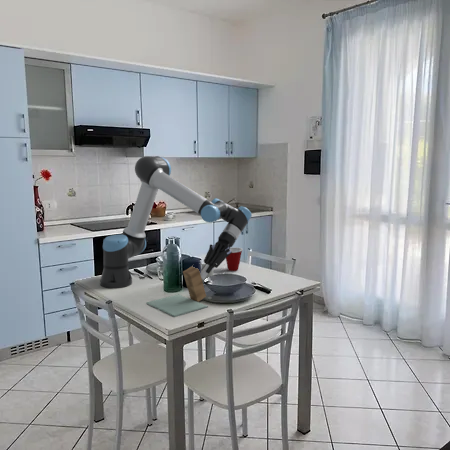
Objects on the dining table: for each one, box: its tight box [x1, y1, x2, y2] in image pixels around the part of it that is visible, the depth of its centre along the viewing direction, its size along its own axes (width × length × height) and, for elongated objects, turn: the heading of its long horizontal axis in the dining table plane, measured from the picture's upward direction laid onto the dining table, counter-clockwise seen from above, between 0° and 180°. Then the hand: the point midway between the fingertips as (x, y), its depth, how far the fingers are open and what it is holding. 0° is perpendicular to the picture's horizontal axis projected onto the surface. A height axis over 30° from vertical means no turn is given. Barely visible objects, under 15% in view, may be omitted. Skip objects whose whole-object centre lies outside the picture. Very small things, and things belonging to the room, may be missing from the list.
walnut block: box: [182, 265, 207, 303], centre depth 183 cm, size 5×5×14 cm
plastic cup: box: [225, 246, 243, 272], centre depth 236 cm, size 11×11×12 cm
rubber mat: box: [146, 293, 208, 318], centre depth 177 cm, size 20×17×1 cm
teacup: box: [200, 263, 215, 282], centre depth 212 cm, size 14×11×8 cm
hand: (201, 278), depth 184 cm, fingers closed
